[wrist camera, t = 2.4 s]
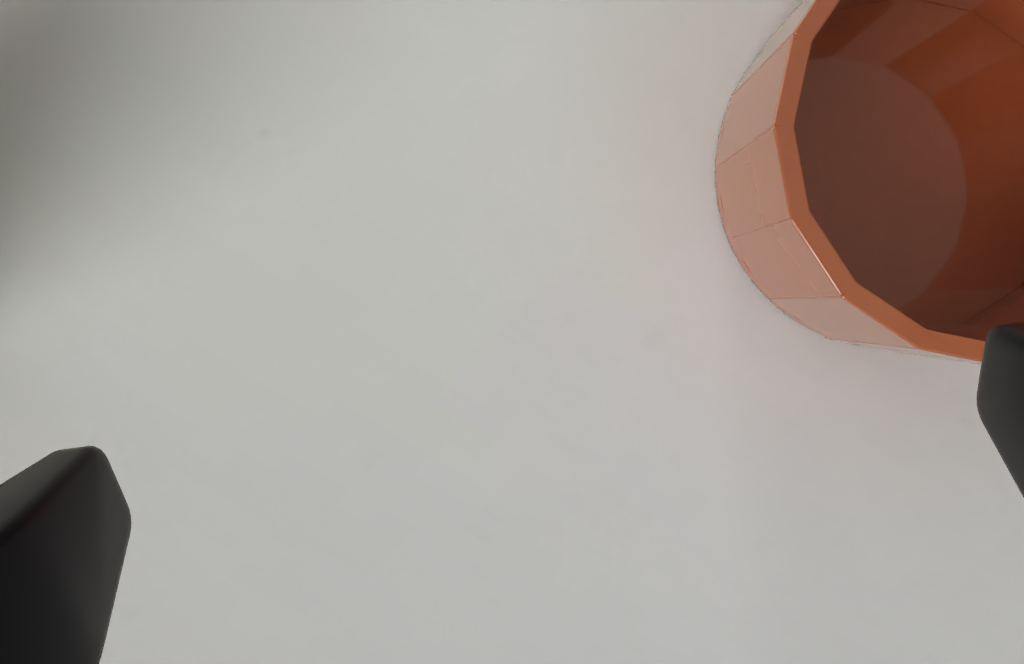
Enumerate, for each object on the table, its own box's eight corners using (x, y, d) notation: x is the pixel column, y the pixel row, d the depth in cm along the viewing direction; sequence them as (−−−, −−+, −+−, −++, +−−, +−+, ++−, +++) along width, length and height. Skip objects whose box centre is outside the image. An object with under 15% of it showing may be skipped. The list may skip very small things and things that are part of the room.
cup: (937, 416, 22) (1075, 454, 16) (645, 220, 22) (685, 191, 16) (1143, 122, 21) (1355, 58, 16) (846, -79, 21) (957, -211, 16)
